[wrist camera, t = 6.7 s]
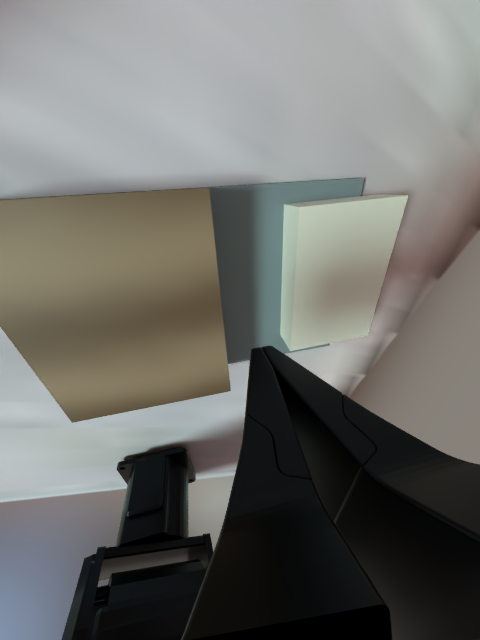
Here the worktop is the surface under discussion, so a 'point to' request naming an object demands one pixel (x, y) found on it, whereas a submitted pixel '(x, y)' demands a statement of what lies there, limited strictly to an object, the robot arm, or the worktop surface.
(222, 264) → the mat
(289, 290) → the rectangular block
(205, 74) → the worktop surface
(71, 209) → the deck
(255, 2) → the worktop surface
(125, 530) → the robot arm
